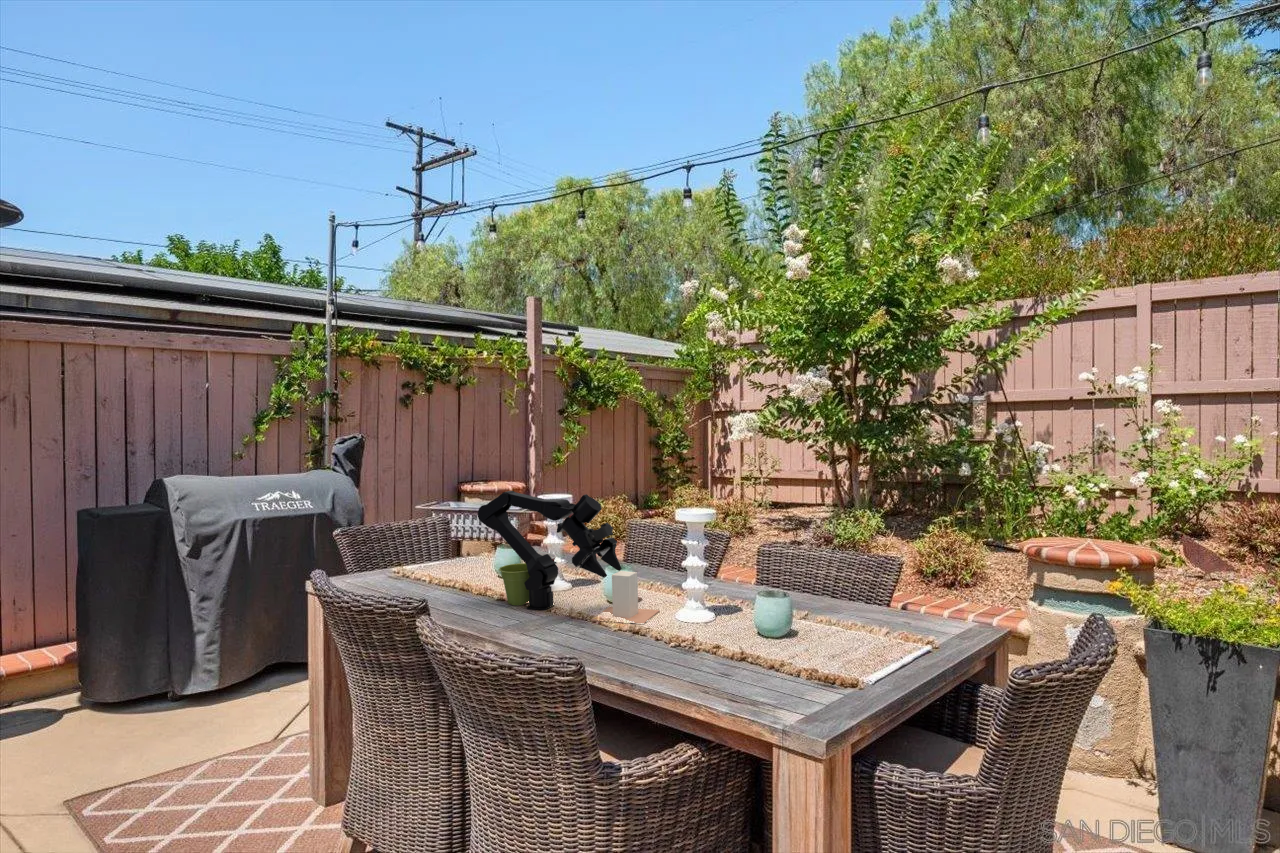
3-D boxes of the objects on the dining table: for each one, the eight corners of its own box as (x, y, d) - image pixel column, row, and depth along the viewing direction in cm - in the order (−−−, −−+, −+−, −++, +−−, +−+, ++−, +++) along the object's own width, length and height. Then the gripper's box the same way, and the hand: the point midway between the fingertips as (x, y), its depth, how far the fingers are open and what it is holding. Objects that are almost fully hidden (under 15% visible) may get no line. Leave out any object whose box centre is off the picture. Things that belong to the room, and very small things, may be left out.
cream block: (613, 616, 228) (611, 575, 228) (621, 611, 233) (620, 571, 233) (630, 618, 226) (628, 576, 226) (638, 613, 231) (637, 572, 230)
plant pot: (496, 601, 251) (495, 565, 251) (532, 596, 256) (531, 561, 255) (505, 610, 240) (503, 573, 240) (542, 604, 245) (541, 568, 245)
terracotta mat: (590, 620, 226) (590, 619, 226) (609, 608, 239) (609, 606, 239) (643, 624, 220) (643, 623, 220) (659, 611, 234) (659, 610, 234)
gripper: (579, 520, 224) (615, 561, 220) (610, 510, 241) (644, 549, 236) (556, 546, 228) (591, 587, 223) (588, 535, 245) (621, 573, 240)
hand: (613, 573), depth 231 cm, fingers open, 9 cm apart
